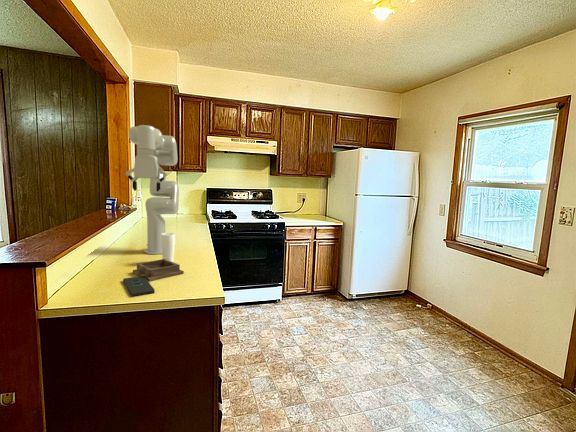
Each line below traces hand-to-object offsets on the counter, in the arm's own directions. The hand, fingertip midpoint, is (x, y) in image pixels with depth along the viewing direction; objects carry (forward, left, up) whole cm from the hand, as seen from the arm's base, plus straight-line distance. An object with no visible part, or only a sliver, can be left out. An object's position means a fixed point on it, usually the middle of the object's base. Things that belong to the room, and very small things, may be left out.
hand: (146, 190), depth 142 cm
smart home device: (+21, -14, -38) cm, 45 cm away
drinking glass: (-3, +12, -37) cm, 39 cm away
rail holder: (+10, 0, -37) cm, 38 cm away
